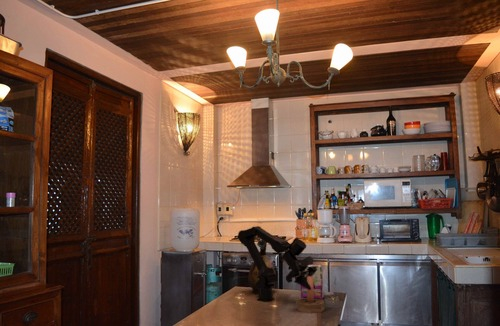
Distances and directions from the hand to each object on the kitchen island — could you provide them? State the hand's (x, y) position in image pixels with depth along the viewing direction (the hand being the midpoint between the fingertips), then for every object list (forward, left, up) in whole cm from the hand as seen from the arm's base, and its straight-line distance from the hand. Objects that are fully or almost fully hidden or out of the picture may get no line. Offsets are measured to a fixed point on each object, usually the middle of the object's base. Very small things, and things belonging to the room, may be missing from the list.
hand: (312, 288), depth 183 cm
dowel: (-1, 0, -7) cm, 7 cm away
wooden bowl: (-1, 0, -9) cm, 10 cm away
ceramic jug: (-38, +21, -10) cm, 45 cm away
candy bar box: (-9, +22, -10) cm, 26 cm away
